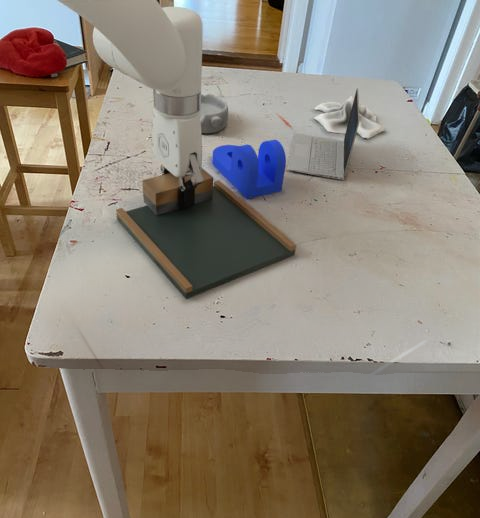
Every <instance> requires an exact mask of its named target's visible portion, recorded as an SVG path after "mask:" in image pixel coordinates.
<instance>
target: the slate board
mask: <svg viewBox="0 0 480 518" xmlns="http://www.w3.org/2000/svg"><path fill="white" fill-rule="evenodd" d="M115 214H116V220H117V221H118V223H120V225H121V226H122V227H123V228H124V229H125V230H126V232H127V233H128V234H129V235H130V236H131V237H132V238H133V240H134V242H136V243H137V244H138V246H139V247H140V249H142V250H143V251H144V253H145V254H146V255H147V256H148V257H149V258H150V259H151V261H152V262H153V263H154V264H155V265H156V267H157V268H158V269H159V270H160V271H161V272H162V273H163V274H164V275H165V277H166V278H167V279H168V280H169V282H170V283H171V284H172V285H173V286H174V287H175V289H177V291H178V292H179V293H180V294H181V295H182V297H183V298H184V299H186V300H187V299H189V298H191V297H194V296H196V295H199V294H202V293H204V292H207V291H209V290H211V289H214V288H216V287H219V286H222V285H224V284H226V283H229V282H231V281H235V280H236V279H238V278H241V277H243V276H246V275H248V274H251V273H253V272H257V271H259V270H261V269H263V268H265V267H268V266H270V265H273V264H275V263H278V262H280V261H282V260H285V259H287V258H290V257H292V256H295V253H296V249H297V244H296V243H295V242H294V241H293V240H291V238H289V237H288V236H287V235H286V234H284V233H283V232H282V231H281V230H280V229H278V228H277V227H276V226H275V225H274V224H272V223H271V222H270V221H269V220H267V218H265V217H264V216H263V215H261V214H260V213H259V212H258V211H257V210H255V209H254V208H253V207H252V206H251V205H250V204H249V203H247V202H246V201H244V200H243V198H241V197H240V196H239V195H238V194H237V193H235V192H234V191H233V190H232V189H230V188H229V186H227V185H225V183H223V182H222V181H221V180H220V179H217V180H213V198H212V199H210V200H207V201H203V202H200V203H197V204H194V206H191V207H188V208H185V209H177V210H173V211H170V212H167V213H163V214H160V215H156V214H155V213H154V212H153V211H152V210H151V209H150V208H149V207H148V206H147V205H144V206H140V207H137V208H133V209H130V210H127V211H126V210H125V209H124V208H122V207H120V208H116V209H115Z"/></svg>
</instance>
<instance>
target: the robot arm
mask: <svg viewBox="0 0 480 518" xmlns="http://www.w3.org/2000/svg"><path fill="white" fill-rule="evenodd" d="M57 2H60V3H61V4H62V5H63V6H66V7H67V8H68V9H70V10H71V11H73V12H74V13H75V14H77V15H79V16H80V17H81V18H82V19H84V20H85V21H86V22H88V23H89V24H90V25H92V26H93V31H92V43H93V46H94V47H93V48H94V49H95V51H96V53H97V55H98V56H99V58H100V59H101V60H102V61H103V62H104V63H105V64H107V65H108V66H109V67H110V68H113V69H114V70H116V71H118V72H120V73H121V74H124V75H125V76H128V77H130V78H131V79H133V80H135V81H137V82H138V83H140V84H142V85H144V86H145V87H146V88H149V89H151V90H153V106H152V113H151V114H152V115H151V153H152V156H153V158H154V159H155V160H156V161H157V162H158V163H159V164H160V169H159V170H160V173H162V174H161V175H165V174H168V173H172V174H173V175H174V176H175V177H177V178H179V183H180V189H178V208H179V209H185V208H188V207H191V206H194V204H195V188H196V187H197V186H198V185H199V184H201V183H203V178H202V175H201V172H200V171H201V167H202V166H203V135H202V134H203V133H201V122H200V115H199V113H200V112H201V94H202V79H203V78H202V77H203V75H202V71H203V33H204V32H203V29H204V28H203V21H202V17H201V16H200V14H199V13H197V12H196V11H195V10H192V9H190V8H187V7H182V6H163V7H162V5H161V4H160V3H159V1H158V0H57ZM188 168H189V169H190V170H188ZM202 168H203V167H202ZM189 175H190V180H188V181H187V182H185V178H184V177H185V176H189Z"/></svg>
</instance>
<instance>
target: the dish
mask: <svg viewBox="0 0 480 518" xmlns="http://www.w3.org/2000/svg"><path fill="white" fill-rule="evenodd" d="M199 115H200V122H201V133H202V134H213V133H217V132H220V131H221V130H223V129H224V128H225V127H226V125H227V122H228V118H229V106H228V103H227V102H226V100H223V99H222V98H220V97H218V96H217V95H214V94H211V93H207V94H202V93H201V112H200V113H199Z"/></svg>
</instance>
